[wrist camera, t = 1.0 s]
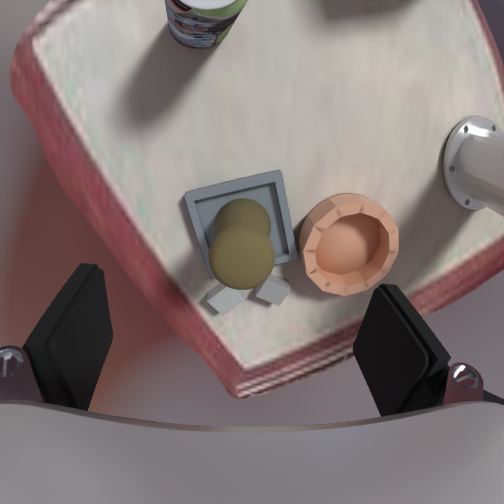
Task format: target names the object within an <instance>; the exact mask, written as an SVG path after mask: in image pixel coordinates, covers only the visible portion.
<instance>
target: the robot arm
mask: <svg viewBox="0 0 504 504" xmlns="http://www.w3.org/2000/svg"><path fill="white" fill-rule="evenodd" d="M443 171H444V178H445V182H446V185H447V188H448V190H449V192H450V194H451V196H452V197H453V198H454V200H455V201H456V202H458V203H459V204H460V205H462V206H463V207H465V208H468V209H471V210H479V209H483V208H485V207H488V208H490V209H492V210H493V211H495V212H497V213H499V214H500V215H502V216H504V134H503V133H502V131H501V129H500V128H499V127H498V126H497V124H496V123H494V122H493V121H492V120H490V119H488V118H486V117H481V116H471V117H468V118H465V119H464V120H462V121H461V122H460V123H459V124H458V125H457V126H456V127H455V128H454V130H453V131H452V133H451V134H450V137H449V139H448V141H447V144H446V148H445V152H444V160H443ZM112 339H113V330H112V325H111V319H110V313H109V307H108V300H107V293H106V286H105V280H104V272H103V270H102V269H99V267H98V265H97V264H87V263H81V264H80V265H79V266H78V267H77V269H76V270H75V271H74V273H73V274H72V275H71V277H70V278H69V279H68V281H67V282H66V283H65V285H64V286H63V287H62V289H61V290H60V292H59V293H58V294H57V296H56V297H55V299H54V300H53V301H52V303H51V304H50V306H49V307H48V309H47V310H46V311H45V313H44V314H43V316H42V317H41V319H40V320H39V322H38V323H37V325H36V327H35V328H34V329H33V331H32V333H31V334H30V336H29V337H28V339H27V340H26V342H25V344H24V346H23V347H22V348H21V347H18V346H15V345H8V346H2V347H0V504H504V399H502V398H500V397H498V396H496V395H493V394H491V393H489V392H487V391H485V390H483V387H484V386H483V385H484V383H483V379H482V376H481V375H480V373H479V372H478V371H477V370H476V369H475V368H474V367H472V366H470V365H469V364H466V363H462V362H457V363H454V364H453V365H451V366H450V367H449V366H448V364H447V363H448V362H449V360H450V358H451V357H450V355H449V354H448V352H447V351H446V349H445V348H444V347H443V345H442V344H441V342H440V341H439V340H438V338H437V337H436V336H435V334H434V333H433V332H432V330H431V329H430V328H429V327H428V325H427V324H426V322H425V321H424V320H423V318H422V317H421V316H420V314H419V313H418V312H417V310H416V309H415V308H414V307H413V305H412V304H411V303H410V302H409V300H408V299H407V298H406V296H405V295H404V294H403V293H402V291H401V290H400V289H399V288H398V287H397V286H396V285H393V284H381V285H380V286H379V287H378V288H376V289H375V290H374V292H373V295H372V297H371V300H370V303H369V306H368V308H367V311H366V314H365V316H364V319H363V322H362V324H361V327H360V329H359V332H358V334H357V337H356V339H355V342H354V345H353V353H354V355H355V358H356V360H357V362H358V364H359V367H360V369H361V371H362V373H363V376H364V378H365V380H366V382H367V385H368V387H369V389H370V392H371V394H372V396H373V399H374V401H375V403H376V406H377V408H378V410H379V413H380V415H381V417H377V418H370V419H364V420H356V421H348V422H339V423H328V424H317V425H303V426H285V427H284V426H283V427H219V426H198V425H185V424H174V423H163V422H155V421H147V420H139V419H132V418H126V417H119V416H113V415H107V414H101V413H95V412H90V411H88V408H89V405H90V402H91V399H92V396H93V393H94V390H95V387H96V384H97V381H98V378H99V376H100V373H101V370H102V367H103V364H104V362H105V359H106V356H107V354H108V351H109V348H110V346H111V343H112Z"/></svg>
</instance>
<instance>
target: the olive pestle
mask: <svg viewBox="0 0 504 504" xmlns="http://www.w3.org/2000/svg"><path fill="white" fill-rule="evenodd" d="M214 225H215V235H216V237H215V238H214V240H213V241H212V243H211V245H210V249H209V254H208V259H209V266H210V268H211V270H212V273H213V275H214V276H215V278H216V279H217V280H218V281H219V282H220V283H222V284H223V285H225V286H227V287H229V288H232V289H236V290H248V289H251V288H254V287H257V286H259V285H260V284H261V283H263V282H264V281H266V279H267V278H268V276H269V275H270V274H271V272H272V269H273V266H274V263H275V251H274V248H273V245H272V243H271V240H270V239H269V237H270V232H271V220H270V217H269V214H268V212H267V211H266V210H265V208H264V207H263V206H262V205H261V204H259V203H258V202H256V201H254V200H251V199H247V198H241V199H235V200H232V201H229V202H227V203H226V204H225V205H224V206H223V207H221V209H220V210H219V212H218V213H217V215H216V219H215V223H214Z"/></svg>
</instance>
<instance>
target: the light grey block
mask: <svg viewBox="0 0 504 504" xmlns="http://www.w3.org/2000/svg"><path fill="white" fill-rule="evenodd" d="M245 300H246V295H245V290H236V289H232V288H229V287H227V286H225V285H223V284H222V283H219V284H217V285H216V286H215V287H213V288H212V289H211V290H209V291H208V294H207V302H208V303H209V304H210V305H211V306H213V307H214V308H215V309H216V310H217V311H218V312H219V313H220V314H221V315H224V314H226V313H227V312H229V311H230V310H232V309H233V308H235V307H236V306H237V305H239V304H240V303H242V302H243V301H245Z"/></svg>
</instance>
